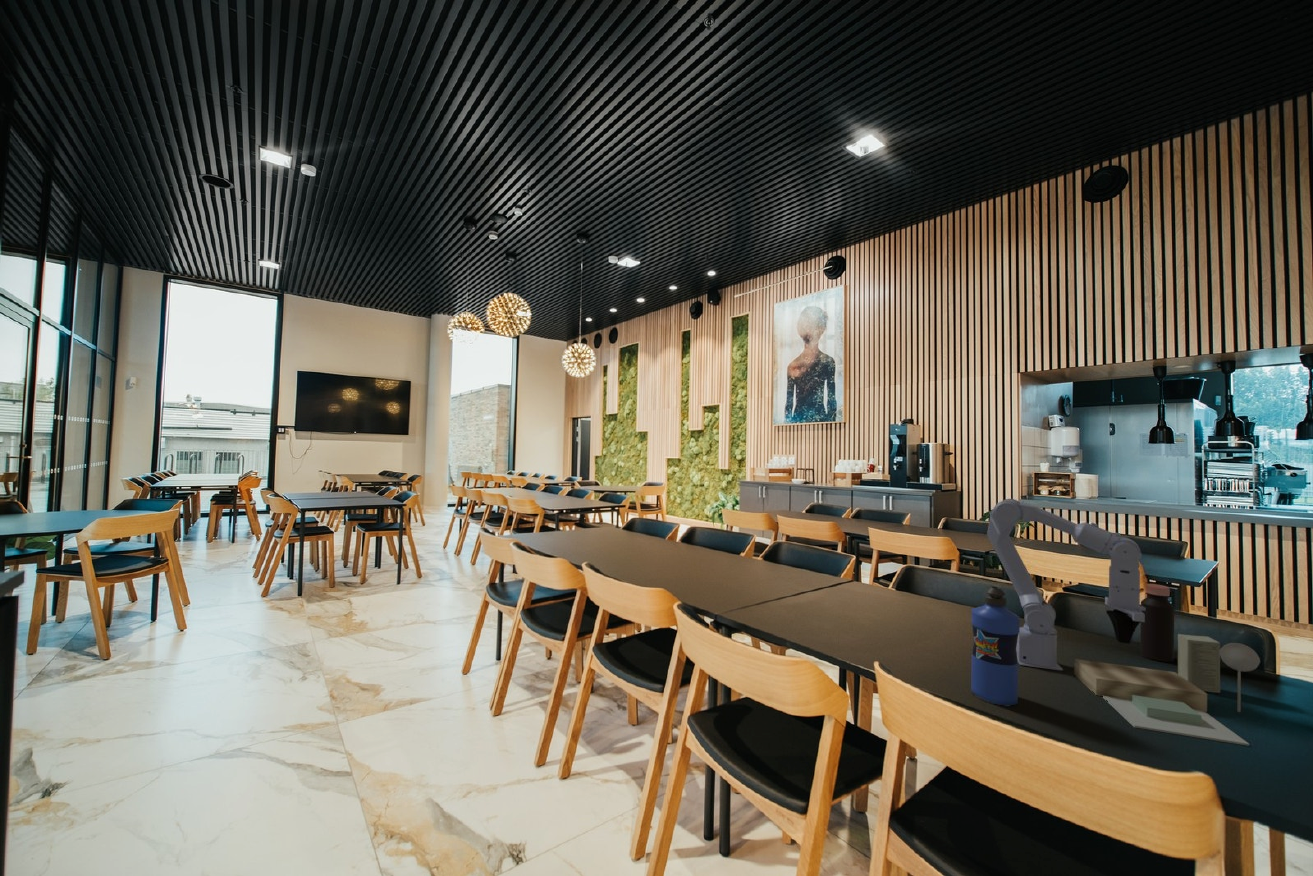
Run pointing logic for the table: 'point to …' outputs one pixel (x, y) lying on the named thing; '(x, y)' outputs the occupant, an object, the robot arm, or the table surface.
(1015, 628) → the water bottle
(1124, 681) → the riser
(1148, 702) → the tile
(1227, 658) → the lollipop
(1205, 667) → the skincare box
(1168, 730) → the mat
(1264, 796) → the table surface
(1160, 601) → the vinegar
